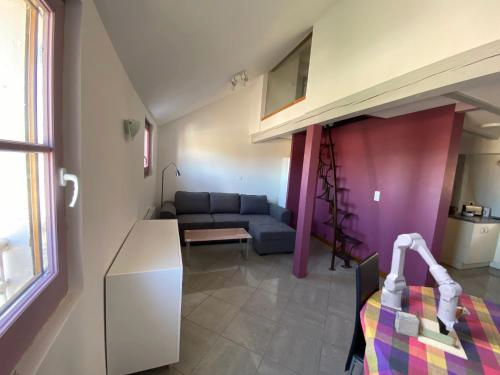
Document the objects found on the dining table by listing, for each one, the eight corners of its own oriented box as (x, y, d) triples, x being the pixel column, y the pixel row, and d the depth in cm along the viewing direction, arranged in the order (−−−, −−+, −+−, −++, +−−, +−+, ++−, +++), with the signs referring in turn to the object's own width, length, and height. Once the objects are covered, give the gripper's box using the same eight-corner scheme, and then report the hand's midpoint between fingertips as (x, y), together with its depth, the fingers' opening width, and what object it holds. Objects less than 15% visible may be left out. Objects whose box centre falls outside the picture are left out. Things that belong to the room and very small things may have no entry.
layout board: (418, 341, 95) (418, 340, 95) (412, 315, 112) (413, 314, 112) (467, 359, 87) (467, 358, 87) (453, 329, 104) (453, 327, 103)
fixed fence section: (417, 331, 100) (418, 324, 100) (414, 317, 110) (415, 309, 110) (421, 333, 99) (422, 325, 99) (417, 318, 109) (418, 311, 109)
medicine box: (413, 331, 101) (415, 314, 100) (417, 338, 97) (419, 321, 96) (394, 326, 103) (396, 310, 102) (397, 333, 99) (399, 316, 98)
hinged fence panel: (417, 333, 98) (418, 326, 98) (417, 331, 100) (418, 324, 99) (455, 347, 92) (457, 340, 91) (454, 345, 93) (455, 337, 93)
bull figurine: (470, 325, 106) (473, 310, 105) (439, 320, 109) (442, 306, 108) (463, 319, 111) (466, 305, 110) (434, 314, 113) (436, 300, 112)
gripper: (464, 321, 88) (459, 350, 89) (454, 303, 100) (450, 329, 101) (442, 314, 92) (437, 342, 93) (435, 297, 104) (431, 322, 105)
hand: (443, 335), depth 98 cm, fingers closed
